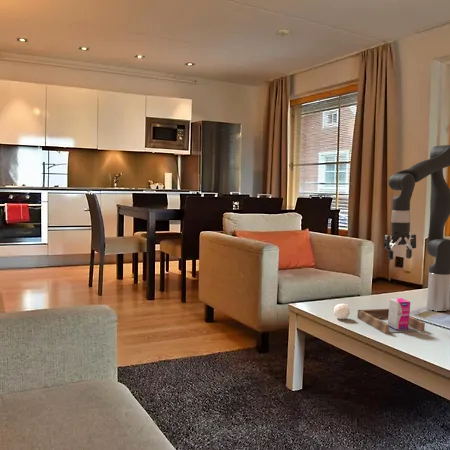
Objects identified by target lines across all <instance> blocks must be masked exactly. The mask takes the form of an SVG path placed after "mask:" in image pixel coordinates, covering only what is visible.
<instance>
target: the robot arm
mask: <svg viewBox="0 0 450 450" xmlns="http://www.w3.org/2000/svg"><path fill="white" fill-rule="evenodd" d="M447 167H450V144H445V145H435V146H433V147H432V148H431V150H430V153H429V158H428V159H425V160H422V161H418V162H417V163H415V164H413V165H412V166H410V167H409V168H406V169H402V170H400V171H398V172H395V173H393V174H392V175H391V176H390V177H389V179H388V187H389V188H390V189H391V190H394V191H401V192H400V193H399V195H397V196H394V197H393V198H392V200H391V201H392V205H391V207H392V208H391V218H390V219H391V220H390V223H391V224H390V233H391V235H388V234H385V235H384V236H383V249H384V250H387V258H388V260H394V249H395V248H396V247H397V246H401V245H402V246H404V247H405V248H406V250H405V251H406V253H405V257H406V259H412V255H413V253H412V252H413V249H416V248H417V234H415V233H410V232H411V200H412V196H413V192H414V189H415V187H416V183H418V182H420V181H422V180H424V179H425V178H427V177H428V176H430V198H429V199H430V200H429V201H430V202H429V204H430V205H429V209H430V210H429V226H428V227H429V228H428V235H427V241H426V250H427V253H428V255H430V257H434V258H435V262H434V263H433V264H431V265H430V266H429V267H428V278H427V279H428V283H427V295H426V296H427V298H426V299H427V300H426V309H427V310H428V311H432V310H434V311H433V312H437V311H447V310H450V239H448V238H444V230H445V225H446V223H447V221H448V219H449V217H450V187H449V185H448V183H447V182H446V179H445V176H444V169H445V168H447ZM447 312H448V311H447Z"/></svg>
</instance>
